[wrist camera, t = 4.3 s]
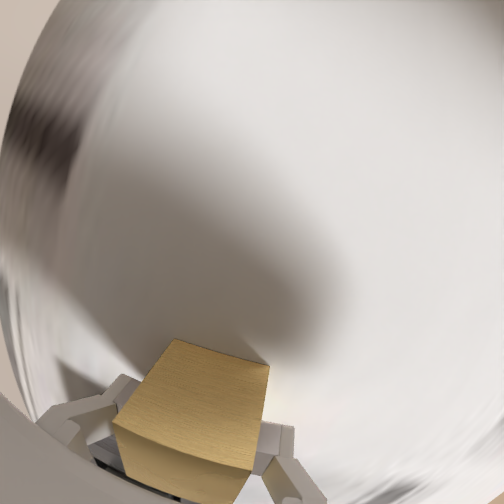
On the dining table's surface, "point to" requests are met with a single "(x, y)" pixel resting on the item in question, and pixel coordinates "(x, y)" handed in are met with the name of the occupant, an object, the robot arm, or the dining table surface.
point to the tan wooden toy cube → (194, 424)
